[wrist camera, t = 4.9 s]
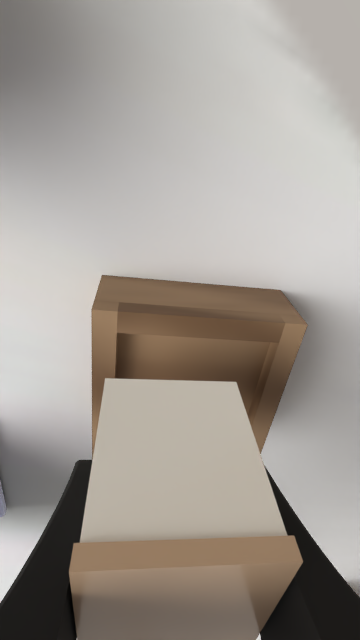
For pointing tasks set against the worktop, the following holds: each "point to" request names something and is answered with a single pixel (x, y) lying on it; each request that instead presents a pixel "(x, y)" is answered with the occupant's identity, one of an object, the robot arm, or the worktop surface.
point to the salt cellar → (178, 519)
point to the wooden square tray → (196, 340)
